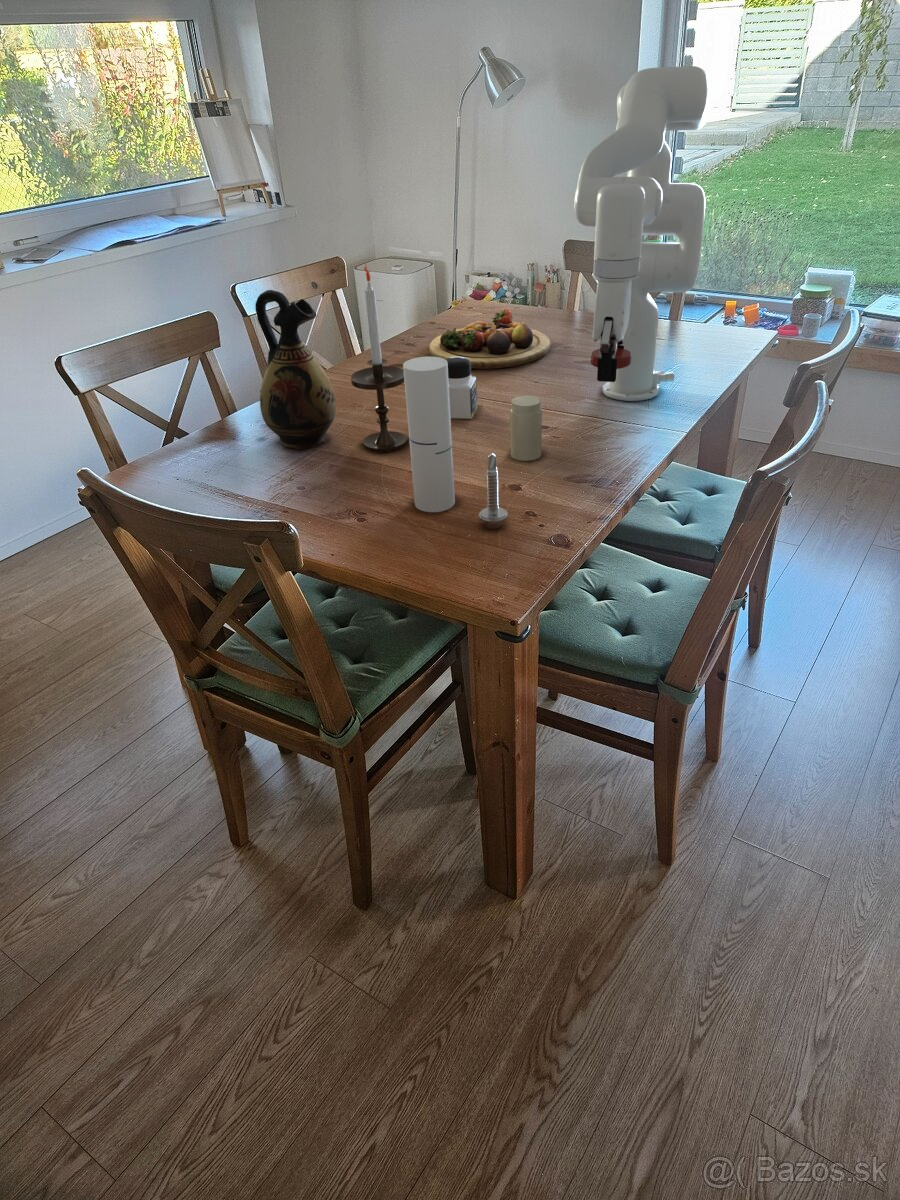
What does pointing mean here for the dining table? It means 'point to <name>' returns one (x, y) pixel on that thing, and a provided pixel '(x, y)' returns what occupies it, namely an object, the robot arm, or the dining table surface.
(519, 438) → the jar
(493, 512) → the screw
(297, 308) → the ceramic jug
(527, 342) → the wooden plate
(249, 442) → the dining table surface
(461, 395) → the medicine bottle
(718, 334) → the dining table surface
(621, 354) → the lid
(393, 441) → the candlestick
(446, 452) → the cylindrical container
